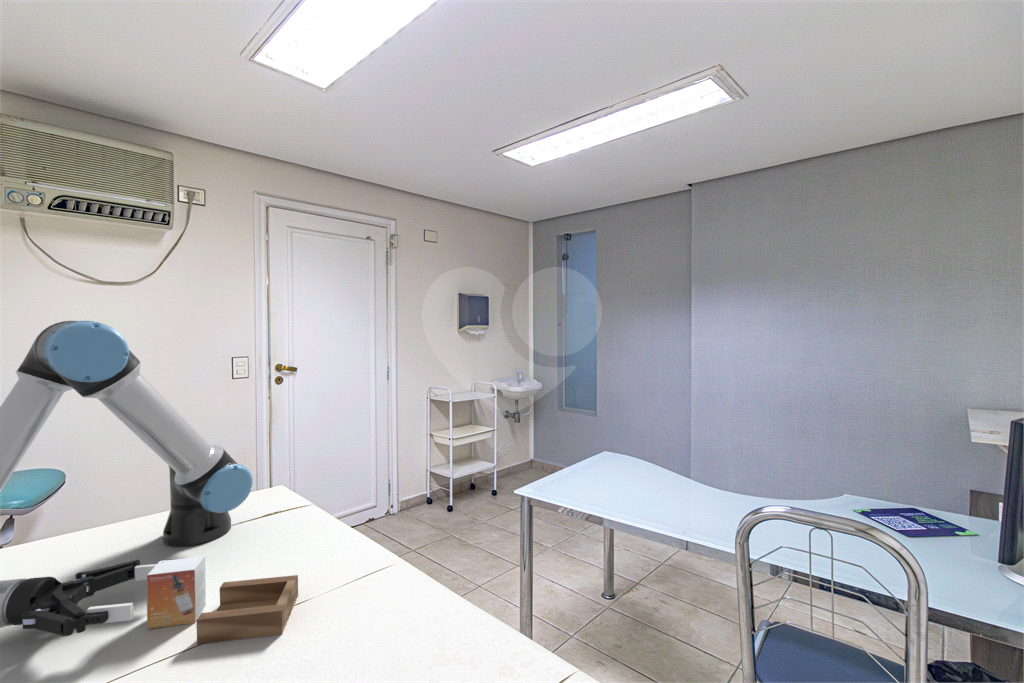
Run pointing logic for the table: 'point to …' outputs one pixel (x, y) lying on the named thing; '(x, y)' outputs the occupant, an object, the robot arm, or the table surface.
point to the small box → (176, 592)
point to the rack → (249, 610)
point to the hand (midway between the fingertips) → (153, 589)
